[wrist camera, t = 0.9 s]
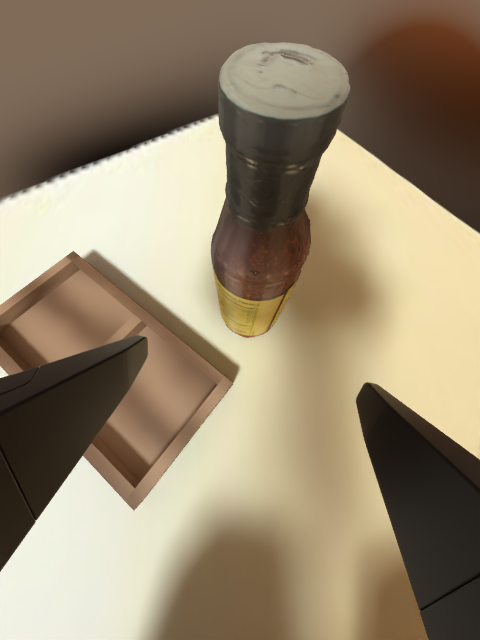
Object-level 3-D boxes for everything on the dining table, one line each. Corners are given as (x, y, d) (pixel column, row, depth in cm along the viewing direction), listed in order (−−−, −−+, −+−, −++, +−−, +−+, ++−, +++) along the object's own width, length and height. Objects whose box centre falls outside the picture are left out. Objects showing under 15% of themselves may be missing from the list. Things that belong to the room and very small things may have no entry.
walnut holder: (143, 500, 19) (133, 510, 17) (-12, 335, 23) (-33, 329, 21) (232, 384, 22) (232, 382, 20) (84, 261, 27) (73, 251, 25)
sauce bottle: (254, 281, 27) (310, 3, 8) (286, 321, 25) (448, 86, 7) (208, 308, 25) (148, 42, 7) (239, 353, 24) (275, 165, 5)
